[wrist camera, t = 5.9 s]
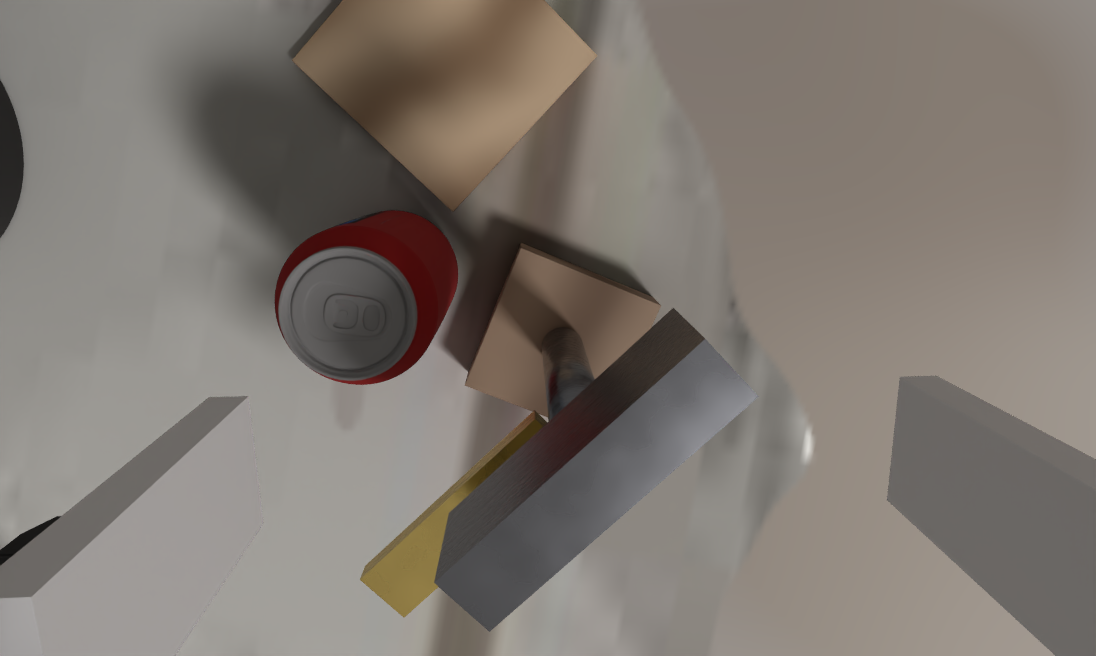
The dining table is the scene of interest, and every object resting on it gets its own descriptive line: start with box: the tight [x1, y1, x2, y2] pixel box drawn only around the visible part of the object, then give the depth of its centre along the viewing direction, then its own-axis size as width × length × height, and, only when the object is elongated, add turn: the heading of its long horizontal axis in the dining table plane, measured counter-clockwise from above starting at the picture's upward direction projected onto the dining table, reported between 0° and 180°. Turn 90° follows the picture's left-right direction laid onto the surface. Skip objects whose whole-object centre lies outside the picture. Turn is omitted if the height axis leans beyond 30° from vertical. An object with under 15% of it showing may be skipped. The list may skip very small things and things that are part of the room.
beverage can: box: [275, 210, 458, 385], centre depth 34 cm, size 7×7×12 cm
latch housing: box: [465, 243, 661, 417], centre depth 40 cm, size 8×8×2 cm
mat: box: [292, 0, 597, 212], centre depth 37 cm, size 11×11×1 cm
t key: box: [360, 308, 759, 632], centre depth 30 cm, size 16×2×17 cm, turn 134°
